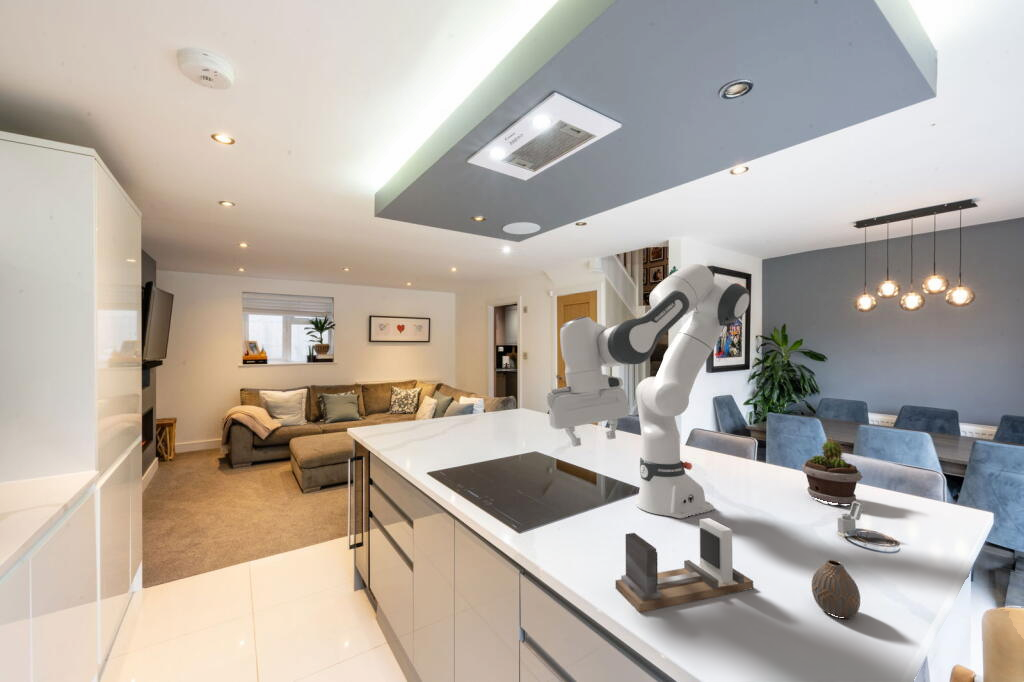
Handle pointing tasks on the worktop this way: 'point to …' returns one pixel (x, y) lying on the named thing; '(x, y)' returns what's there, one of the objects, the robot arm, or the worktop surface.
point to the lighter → (850, 518)
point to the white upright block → (716, 550)
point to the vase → (835, 590)
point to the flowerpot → (831, 475)
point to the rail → (668, 580)
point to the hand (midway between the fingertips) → (594, 442)
